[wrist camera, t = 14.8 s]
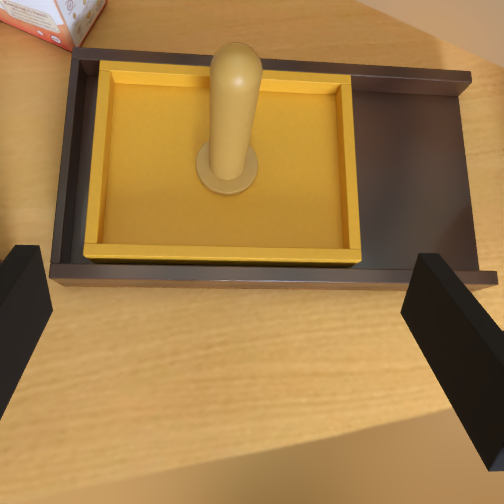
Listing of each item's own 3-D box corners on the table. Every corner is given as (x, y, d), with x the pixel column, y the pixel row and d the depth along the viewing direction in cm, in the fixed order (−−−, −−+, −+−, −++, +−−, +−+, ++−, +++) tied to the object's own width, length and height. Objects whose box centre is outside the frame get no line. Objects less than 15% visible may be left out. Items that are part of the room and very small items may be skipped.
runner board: (64, 286, 31) (48, 278, 28) (84, 73, 35) (72, 46, 32) (472, 291, 34) (499, 284, 31) (449, 94, 38) (471, 70, 35)
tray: (91, 262, 30) (9, 194, 18) (106, 79, 34) (46, -89, 21) (351, 267, 32) (445, 208, 19) (341, 92, 35) (417, -56, 23)
